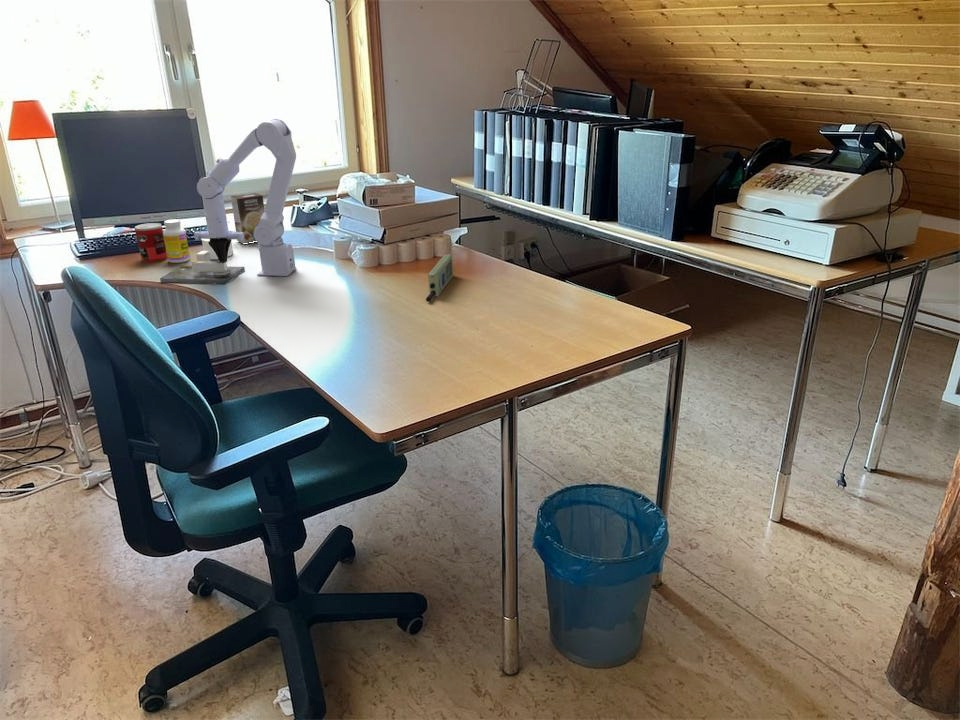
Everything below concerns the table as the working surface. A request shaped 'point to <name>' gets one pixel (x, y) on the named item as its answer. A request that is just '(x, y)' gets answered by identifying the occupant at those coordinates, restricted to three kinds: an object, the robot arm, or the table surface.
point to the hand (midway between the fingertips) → (223, 262)
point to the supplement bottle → (175, 242)
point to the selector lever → (211, 267)
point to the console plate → (200, 276)
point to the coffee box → (247, 214)
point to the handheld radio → (440, 276)
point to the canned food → (151, 242)
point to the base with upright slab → (212, 254)
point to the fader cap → (203, 256)
